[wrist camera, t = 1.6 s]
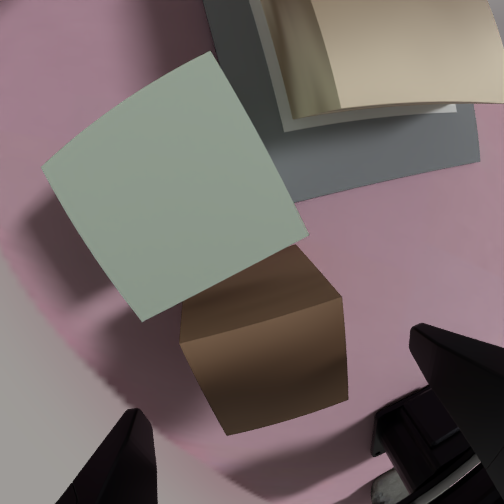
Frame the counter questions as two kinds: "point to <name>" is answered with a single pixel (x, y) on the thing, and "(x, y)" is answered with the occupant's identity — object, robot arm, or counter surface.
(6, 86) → the counter surface
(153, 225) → the sage block
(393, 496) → the stone
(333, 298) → the walnut cube
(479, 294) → the counter surface
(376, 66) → the birch base block
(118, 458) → the robot arm
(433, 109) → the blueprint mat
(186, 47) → the counter surface
